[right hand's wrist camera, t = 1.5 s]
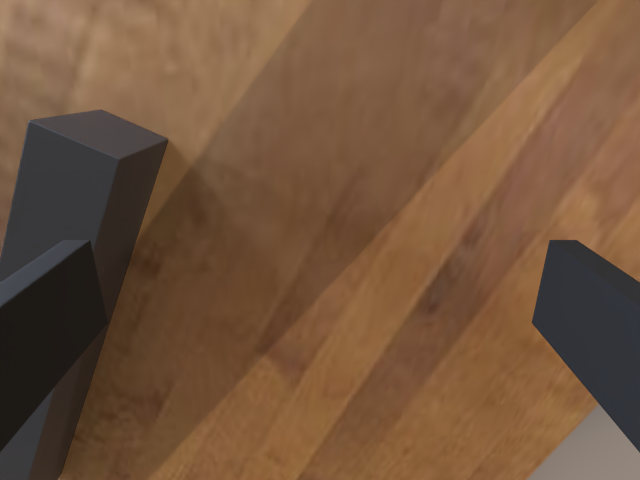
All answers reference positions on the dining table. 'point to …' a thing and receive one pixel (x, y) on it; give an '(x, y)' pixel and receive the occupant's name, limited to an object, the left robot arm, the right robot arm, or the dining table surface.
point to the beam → (75, 224)
